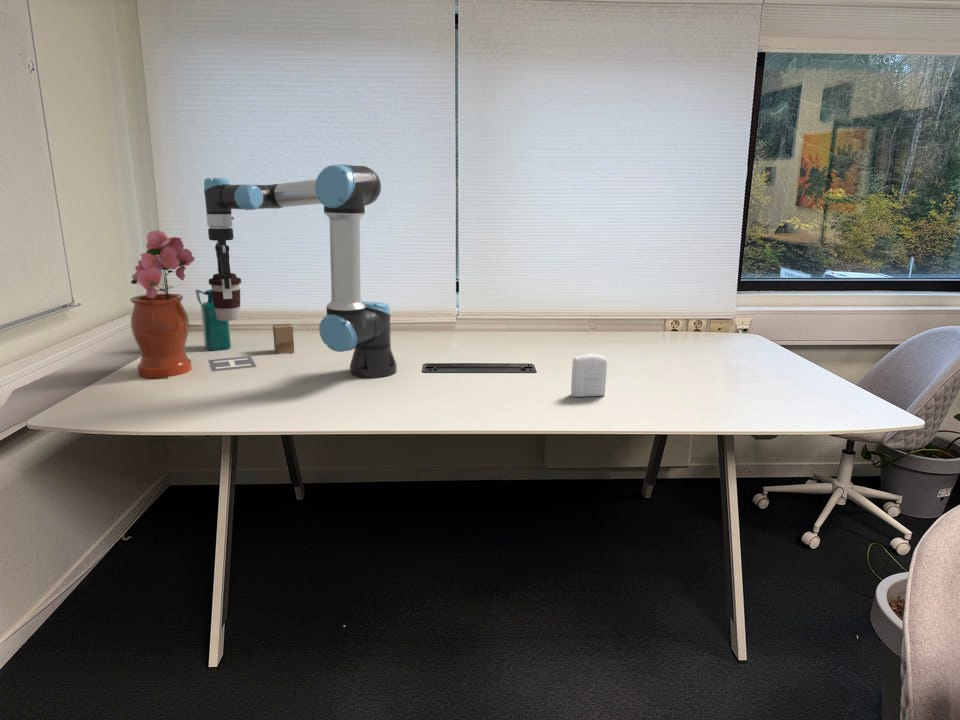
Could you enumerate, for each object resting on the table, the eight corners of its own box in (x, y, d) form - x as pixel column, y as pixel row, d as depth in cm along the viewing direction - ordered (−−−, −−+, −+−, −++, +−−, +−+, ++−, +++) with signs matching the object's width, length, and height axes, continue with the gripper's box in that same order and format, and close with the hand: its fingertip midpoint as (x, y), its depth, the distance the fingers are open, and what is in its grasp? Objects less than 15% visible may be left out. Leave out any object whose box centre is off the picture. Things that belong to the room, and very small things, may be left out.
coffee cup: (205, 320, 218) (201, 275, 214) (225, 315, 227) (221, 271, 223) (231, 322, 215) (227, 276, 211) (250, 317, 224) (246, 273, 220)
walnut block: (294, 353, 240) (292, 326, 238) (277, 355, 238) (275, 328, 235) (291, 350, 246) (289, 323, 243) (274, 351, 243) (272, 324, 240)
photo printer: (601, 392, 198) (603, 351, 195) (607, 396, 194) (609, 355, 191) (568, 394, 196) (570, 353, 193) (573, 398, 192) (575, 357, 189)
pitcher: (227, 344, 253) (222, 287, 248) (232, 349, 246) (226, 290, 241) (200, 347, 248) (194, 288, 243) (204, 352, 241) (198, 292, 236)
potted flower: (210, 360, 230) (198, 228, 218) (189, 381, 205) (174, 233, 194) (153, 361, 227) (137, 228, 216) (125, 382, 203) (105, 233, 192)
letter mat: (257, 368, 221) (256, 366, 221) (212, 372, 215) (211, 371, 215) (250, 357, 235) (250, 355, 235) (208, 361, 229) (208, 359, 229)
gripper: (236, 229, 205) (242, 300, 211) (229, 225, 225) (234, 290, 231) (210, 229, 202) (217, 302, 208) (205, 225, 222) (211, 291, 227)
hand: (226, 296), depth 219 cm, fingers closed on coffee cup, 10 cm apart
